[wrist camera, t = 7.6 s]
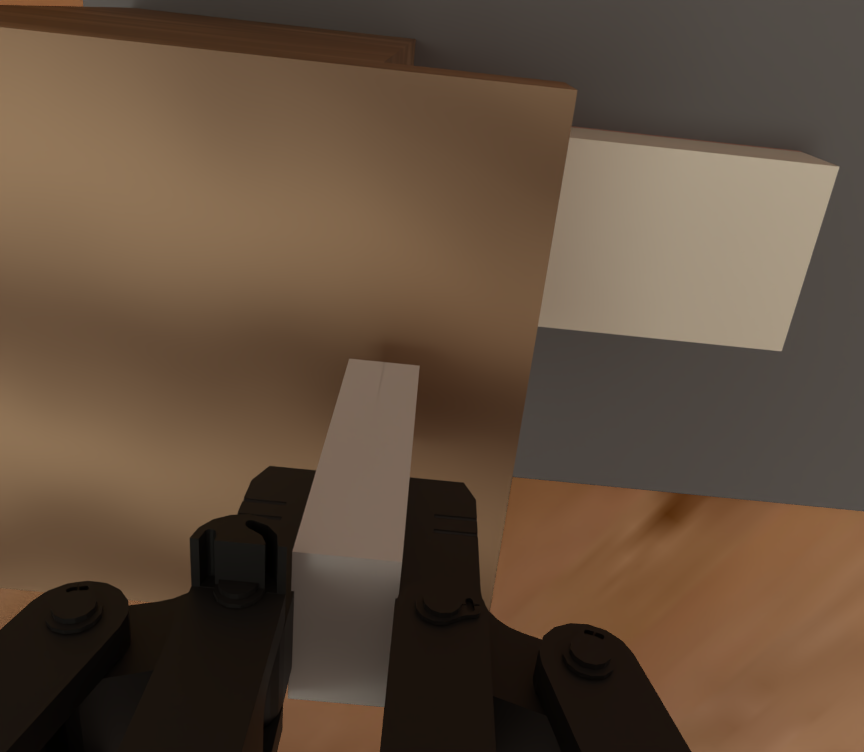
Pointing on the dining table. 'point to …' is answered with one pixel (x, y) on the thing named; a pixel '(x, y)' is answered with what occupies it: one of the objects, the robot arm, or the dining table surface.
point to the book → (683, 238)
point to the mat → (692, 119)
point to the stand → (249, 272)
